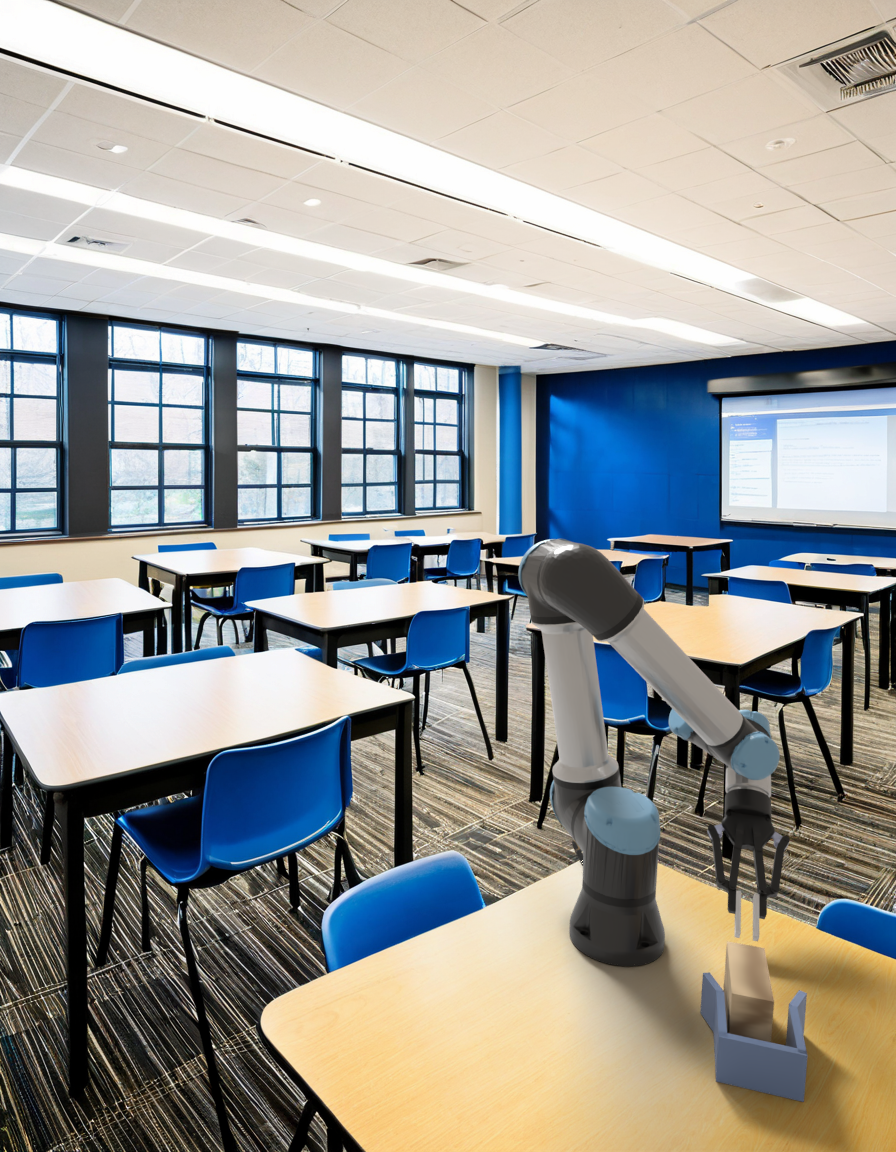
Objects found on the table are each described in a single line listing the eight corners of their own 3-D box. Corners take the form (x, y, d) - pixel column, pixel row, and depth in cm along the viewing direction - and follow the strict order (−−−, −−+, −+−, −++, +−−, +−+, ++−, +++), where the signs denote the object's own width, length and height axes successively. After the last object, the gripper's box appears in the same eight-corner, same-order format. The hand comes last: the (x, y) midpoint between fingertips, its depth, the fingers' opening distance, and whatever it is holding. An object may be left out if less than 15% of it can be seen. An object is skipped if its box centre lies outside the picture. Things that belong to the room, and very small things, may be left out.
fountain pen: (593, 878, 145) (593, 870, 144) (587, 878, 145) (587, 871, 144) (575, 843, 159) (575, 836, 159) (569, 843, 159) (570, 836, 159)
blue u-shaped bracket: (701, 1078, 95) (704, 1033, 95) (700, 1010, 108) (702, 971, 107) (818, 1105, 92) (822, 1059, 91) (803, 1032, 104) (806, 991, 103)
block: (727, 1058, 99) (731, 993, 98) (722, 999, 111) (726, 941, 110) (768, 1067, 98) (774, 1001, 97) (759, 1007, 109) (764, 948, 108)
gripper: (792, 810, 135) (795, 952, 121) (702, 798, 140) (695, 933, 126) (797, 793, 129) (802, 940, 116) (703, 780, 134) (697, 921, 120)
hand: (746, 936), depth 121 cm, fingers open, 2 cm apart
